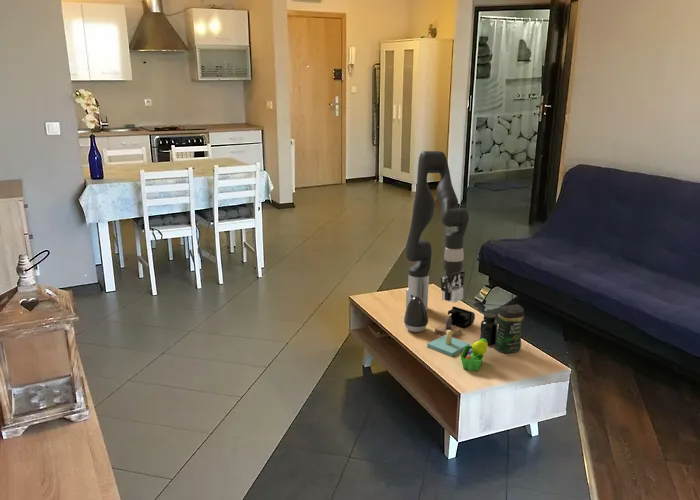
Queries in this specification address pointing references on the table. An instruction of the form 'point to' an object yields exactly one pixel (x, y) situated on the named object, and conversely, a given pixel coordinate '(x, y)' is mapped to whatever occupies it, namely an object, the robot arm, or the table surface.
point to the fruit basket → (474, 355)
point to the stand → (448, 328)
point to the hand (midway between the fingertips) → (452, 298)
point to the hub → (448, 344)
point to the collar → (454, 294)
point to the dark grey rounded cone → (416, 315)
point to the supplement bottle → (489, 328)
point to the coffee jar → (509, 328)
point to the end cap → (461, 317)
